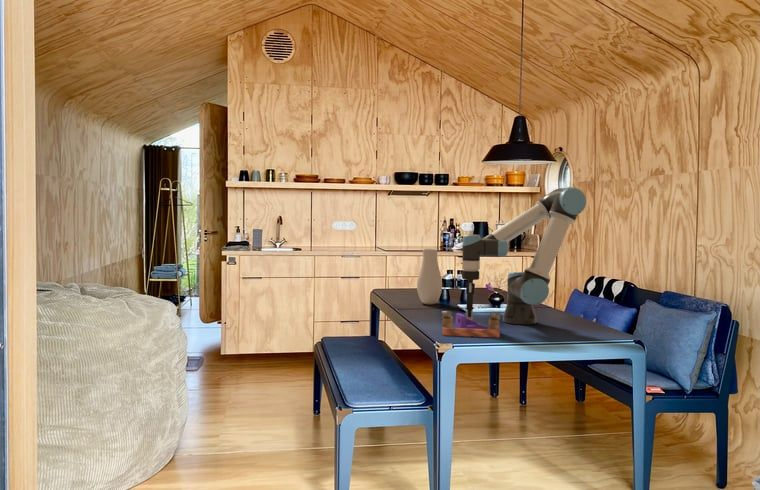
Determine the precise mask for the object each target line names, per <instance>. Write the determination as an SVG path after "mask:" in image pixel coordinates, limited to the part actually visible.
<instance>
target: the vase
mask: <svg viewBox="0 0 760 490" xmlns="http://www.w3.org/2000/svg"><path fill="white" fill-rule="evenodd" d="M416 290H417V295H418V297H419V300H420V301H421V303H422V304H425V305H435V304H437V303H438V301H439V299H440V297H441V294H442V292H443V291H442V290H443V280H442V274H441V271H440V267H439V261H438V249H437V248H423V249H422V261H421V265H420V269H419V272H418V277H417V280H416Z"/></svg>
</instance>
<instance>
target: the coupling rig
mask: <svg viewBox="0 0 760 490" xmlns="http://www.w3.org/2000/svg"><path fill="white" fill-rule="evenodd" d="M489 315H490V316H489V317H488V324H487V328H488V329H465V328H455V327H453V324H454V323H453V322H454V319H453V316H452V311H451V310H450V311H449V310H442V311H441V318H442V328H441V329H442V330H441V331H442V333H441V335H442V336H453V337H455V336H456V337H471V336H473V337H472V338H474V337H476V338H479V337H480V338H499V339H500V335H501V333H500V332H501V330H500V320H501V312H489Z"/></svg>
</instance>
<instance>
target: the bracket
mask: <svg viewBox="0 0 760 490" xmlns="http://www.w3.org/2000/svg"><path fill="white" fill-rule="evenodd" d="M454 328H465V329H488V326H485V325H482V324H481V323H478V322H476V321H471V320H469V319H467V318H466V315H465V314H462V313H461V312H457V313H456V312H455V326H454Z"/></svg>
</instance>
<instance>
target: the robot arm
mask: <svg viewBox="0 0 760 490" xmlns="http://www.w3.org/2000/svg"><path fill="white" fill-rule="evenodd" d="M586 205H587V198H586V195H585V193H584V192H583V191H582V190H581V189H579V188H577V187H572V186H568V187H567V186H566V187H560V188H556V189H553V190H552V191H550V192H549V193H548V194H546V195H545V196H543V197H542V198H540V199H538V200H537V201H536V202H535V204H534V205H533V206H532V207H530V208H528V209H527V210H525V211H524V212H522V213H520V214H519V215H517V216H516V217H515V218H512V219H511V220H510V221H508V222H507V223H504V224H503V225H502V226H500V227H499V228H497V229H495V230H494V231H492V232H490V233H489V234H488V235H486V236H484V237H481V235H480V234H464V235H463V237H462V259H461V260H462V262H460V265H461V269H462V270H461V279H462V280H464V281H465V280H466V281H467V282H466V283H465V294H466V307H465V310H466V311H465V312H466V313H465V314H466V315H465V317H466V318H467V319H469V320H471V321H473V319H474V317H473V315H474V309H475V307H474V305H473V304H474V295H475V288H476V283H474V280H475V281H477V280H480V271H479V270H481V269H480V268H481V265H480V264H481V258H482V257H489V258H492V257H493V258H496V257H497V258H503V257H506V256H507V255H508V253H509V245H508V242H510V241H512V240H513V239H515V238H517V237H518V236H519V235H522V234H523V233H525V232H526V231H527V230H529V229H531V228H533V227H534V226H536V225H537V224H538V223H541V222H542V221H543V220H549V221H548V223H547V226H546V228H545V231H544V233H543V234H542V238H541V240H540V243H539V245H538V247H537V249H536V252H535V254H534V256H533V259H532V261H531V264H530V266H529V267H527V268H526V269H524V271H523V272H522V271H517V272H509V273H508V274H507V279H506V281H507V285H506V286H507V287H506V288H507V290H506V293H507V295H506V298H507V299H506V307H505V309H504V312H503V315H502V322H504V323H507V324H511V325H512V324H513V325H535V324H536V323H537V315H536V311H535V308H534V306H536V305H537V306H538V305H540V304H542V303H544V302H545V301H546V299H547V298H548V297H549V294H550V288H549V284H550V282H551V278H550V273H551V270H552V268H553V265H554V263H555V261H556V258H557V255H558V253H559V252H560V249H561V246H562V244H563V241H564V239H565V237H566V235H567V231H568V229H569V227H570V225H571V224H573V223H575V222H576V220H577V217H578V216H579V214H581V213H582V212H583V211H584V210H585V208H586Z"/></svg>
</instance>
